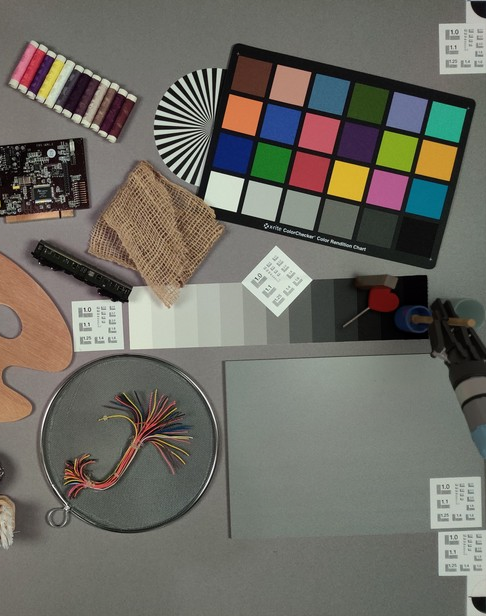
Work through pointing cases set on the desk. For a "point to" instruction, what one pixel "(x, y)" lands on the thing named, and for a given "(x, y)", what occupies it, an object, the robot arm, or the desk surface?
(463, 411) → the robot arm
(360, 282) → the block
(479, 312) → the cup
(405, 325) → the bowl
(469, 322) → the stick
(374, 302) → the lollipop
